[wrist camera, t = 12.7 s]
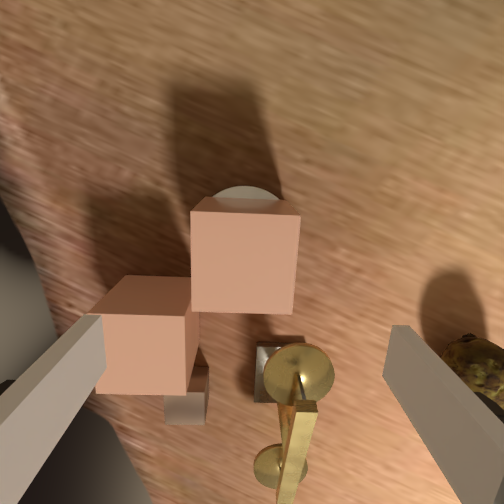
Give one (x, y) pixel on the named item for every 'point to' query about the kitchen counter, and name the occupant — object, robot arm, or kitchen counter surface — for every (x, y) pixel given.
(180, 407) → the gray metal block
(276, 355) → the balance
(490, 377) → the potato
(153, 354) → the tan cardboard-like box
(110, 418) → the kitchen counter surface
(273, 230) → the peach pink cube
